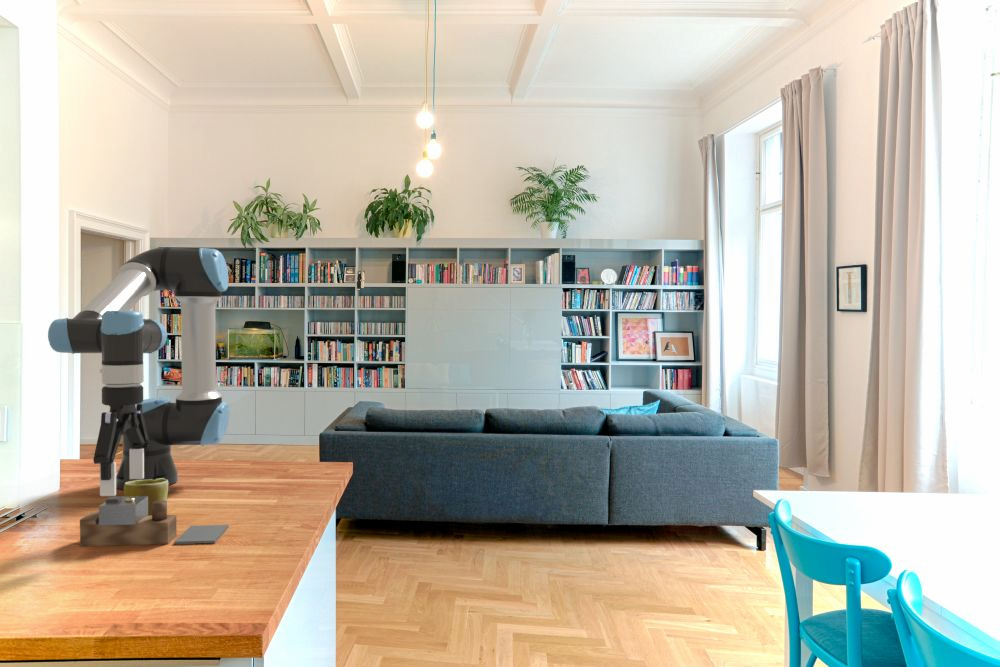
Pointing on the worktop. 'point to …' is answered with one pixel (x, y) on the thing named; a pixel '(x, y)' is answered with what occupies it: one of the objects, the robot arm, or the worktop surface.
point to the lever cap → (123, 510)
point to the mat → (201, 534)
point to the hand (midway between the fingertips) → (123, 486)
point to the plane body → (130, 529)
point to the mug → (148, 490)
